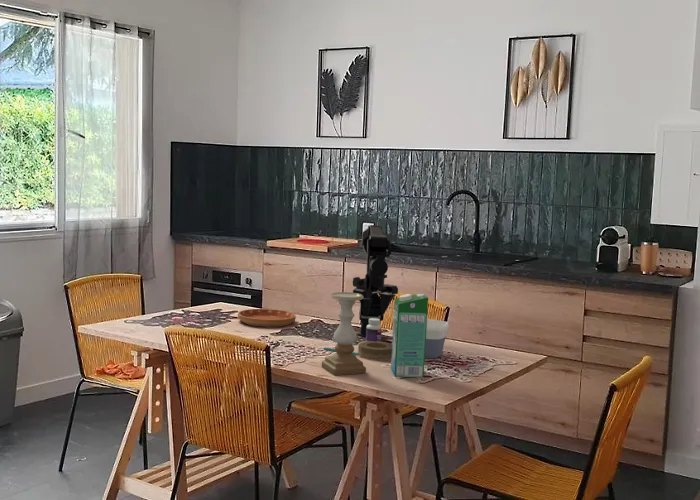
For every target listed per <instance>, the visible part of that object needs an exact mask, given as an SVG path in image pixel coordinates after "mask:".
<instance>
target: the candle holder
mask: <svg viewBox="0 0 700 500" xmlns="http://www.w3.org/2000/svg"><path fill="white" fill-rule="evenodd" d="M330 297H331V299H334V300H338V301H337V302H338V304H339V305H340V311H339V312H338V313H337V316H338V318H339V320H340V323H339V325H338V327H337V328H336V329H335V331H334V333H333V340H334V342H335V343H336V345H335V346H334V349H335V351H336V353H334V354H332V355H331V356H325V357H324V360H322V361H321V368H322V369H324V370H325V371H327V372H328V373H329V374H331V375H333V376H347V374H348V375H362V374H367V367H366V366H365V365H364V362H363V361H362V360H361V359H359V358H358V357H357V355H353V354H352V352H355V346H354V345H353V344H354V343H356V341H357V339H358V338H357V337H358V336H357V335H358V334H357V333H356V331H355V329H354V327H353V324H352V321H353V319H354V317H355V313H354V312H353V307H354V305H356V302H357V301H359V300H362V299H363V295H362V294H358V293H353V292H348V291H338V292H336V291H335V292H332V293H330ZM335 351H334V352H335Z"/></svg>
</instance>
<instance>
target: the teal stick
mask: <svg viewBox="0 0 700 500" xmlns="http://www.w3.org/2000/svg"><path fill="white" fill-rule="evenodd" d="M323 350H324V351H325V350H326V351H330V352H336V351H335V348H332V347H323ZM336 353H337V352H336ZM352 354H353V355H355V356H359V353H358V352H356V351H353V352H352Z"/></svg>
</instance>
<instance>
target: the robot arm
mask: <svg viewBox="0 0 700 500" xmlns="http://www.w3.org/2000/svg"><path fill="white" fill-rule="evenodd" d="M361 235H362V236H361V246H362V252H363V254H364V255H365V257H366V274H365V277H363V278H361V277H360V276H355V277H353V278H352V286H353V287H355V288H354V289H353V290H352V293H358V294H362V295H363V299H362V300H358V302H359V303H360V305H359V311H358V318H359V321H361V324H360V333H357V335H358V336H360V337H361V336H362V337H365V338H366V327H367V325H369V319H370V318H376V319H380V322H382V321H384V316H385V313H386V312H387V310H388V308H389V306H390V304H391V302H392V301H393V299H395V298H396V295H398V294H399V287H398V286H397V285H394V284H389V283H386V284H385V279H387V278H388V275H387V274H386V273H387V271H388V269H389V266H388V262H386V258H390V257H391V255H392V244H391V243H392V242H391V241H390V239H389V238H388V236H387V235H385V232H384V231H383V230H382V225H378V224H377V225H375V224H370V225H368V226H367V228H366V229H365V230H364V231H363V232H362V233H361Z"/></svg>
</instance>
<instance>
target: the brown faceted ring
mask: <svg viewBox="0 0 700 500" xmlns="http://www.w3.org/2000/svg"><path fill="white" fill-rule="evenodd" d="M357 349H358V350H357V353H359V355H358V357H360V358H363V359H367V360H375V361H386V360H387V361H388V360H391V356H392V343H390V342H386V341H385V342H384V341H381V342H377V341H368V342H366V341H363V342H360V343H359V344H358V348H357Z"/></svg>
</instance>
